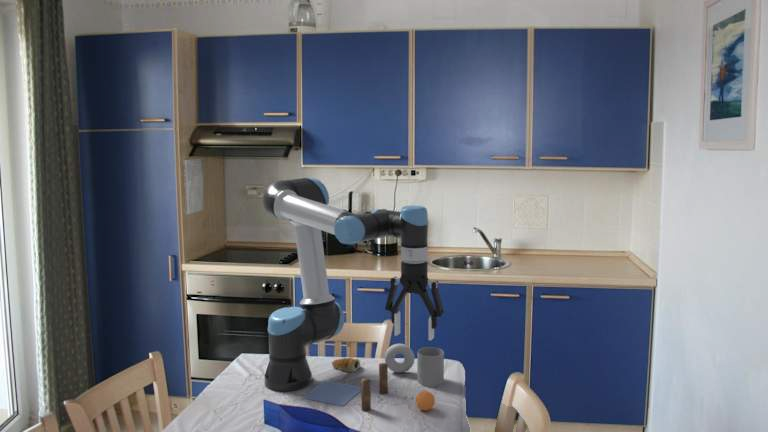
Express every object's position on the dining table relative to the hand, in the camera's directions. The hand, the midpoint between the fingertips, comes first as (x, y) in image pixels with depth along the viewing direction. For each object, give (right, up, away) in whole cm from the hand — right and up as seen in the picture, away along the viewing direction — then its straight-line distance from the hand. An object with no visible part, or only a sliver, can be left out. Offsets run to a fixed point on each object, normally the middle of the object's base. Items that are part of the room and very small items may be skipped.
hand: (414, 336), depth 191 cm
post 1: (-14, -22, +2) cm, 26 cm away
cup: (+6, -19, +22) cm, 30 cm away
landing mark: (-24, -20, +14) cm, 34 cm away
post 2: (-9, -20, +14) cm, 26 cm away
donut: (-4, -18, +30) cm, 35 cm away
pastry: (-21, -17, +34) cm, 44 cm away
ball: (+3, -19, +1) cm, 19 cm away
